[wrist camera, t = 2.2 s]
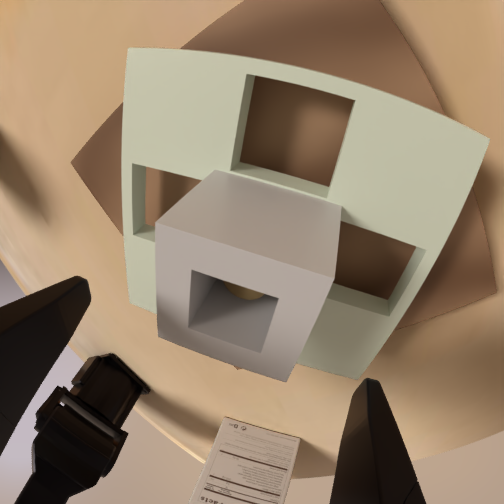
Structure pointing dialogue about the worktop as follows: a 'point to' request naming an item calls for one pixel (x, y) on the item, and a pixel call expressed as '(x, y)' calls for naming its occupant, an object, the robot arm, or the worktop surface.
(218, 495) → the supplement box
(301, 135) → the walnut board
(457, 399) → the worktop surface
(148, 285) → the flange plate
